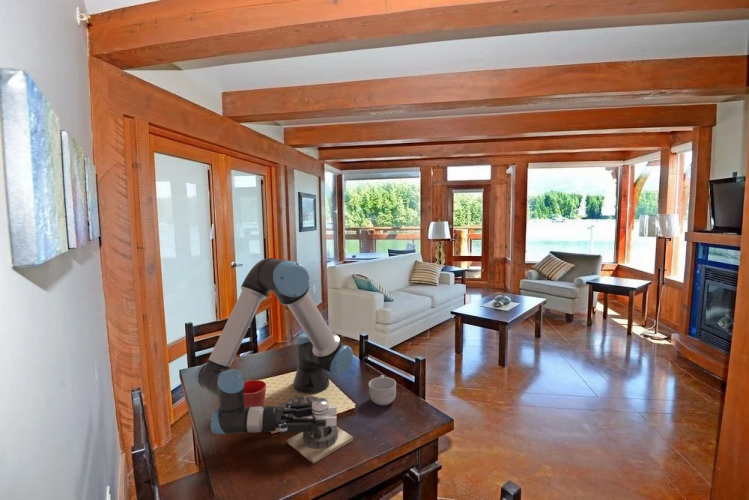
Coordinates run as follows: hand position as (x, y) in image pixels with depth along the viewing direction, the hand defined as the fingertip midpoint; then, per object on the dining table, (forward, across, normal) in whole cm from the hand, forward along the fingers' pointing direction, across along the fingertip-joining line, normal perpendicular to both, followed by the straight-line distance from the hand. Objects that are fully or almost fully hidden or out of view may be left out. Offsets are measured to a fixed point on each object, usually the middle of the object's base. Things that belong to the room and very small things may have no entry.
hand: (336, 415), depth 121 cm
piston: (-5, 0, -6) cm, 8 cm away
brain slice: (-13, -17, -9) cm, 23 cm away
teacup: (+19, -25, -9) cm, 33 cm away
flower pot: (-32, -21, -9) cm, 39 cm away
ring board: (-5, 0, -9) cm, 10 cm away
